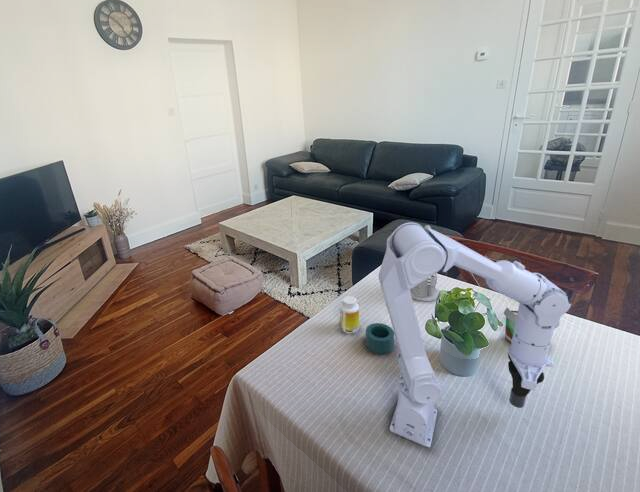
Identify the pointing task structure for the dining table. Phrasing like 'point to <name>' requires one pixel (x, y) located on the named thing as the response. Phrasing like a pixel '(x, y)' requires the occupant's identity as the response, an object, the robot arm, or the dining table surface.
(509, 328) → the food container
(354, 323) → the supplement bottle
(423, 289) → the french press
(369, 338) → the teal ring pot
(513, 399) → the brush
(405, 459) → the dining table surface
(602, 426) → the dining table surface
